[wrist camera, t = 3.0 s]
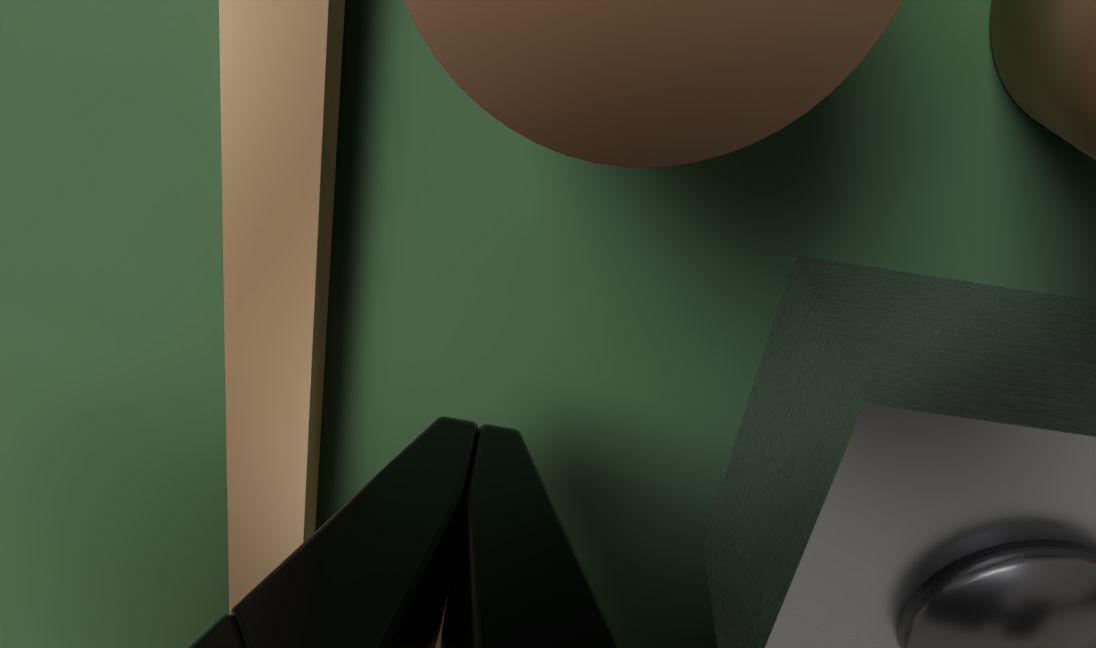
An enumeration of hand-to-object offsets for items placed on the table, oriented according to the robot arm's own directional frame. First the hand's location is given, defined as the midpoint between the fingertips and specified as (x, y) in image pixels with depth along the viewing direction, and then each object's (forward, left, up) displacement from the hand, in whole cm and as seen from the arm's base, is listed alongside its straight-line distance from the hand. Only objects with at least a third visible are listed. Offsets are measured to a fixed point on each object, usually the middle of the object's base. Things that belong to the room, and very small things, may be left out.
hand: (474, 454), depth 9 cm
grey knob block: (-6, 0, -2) cm, 6 cm away
